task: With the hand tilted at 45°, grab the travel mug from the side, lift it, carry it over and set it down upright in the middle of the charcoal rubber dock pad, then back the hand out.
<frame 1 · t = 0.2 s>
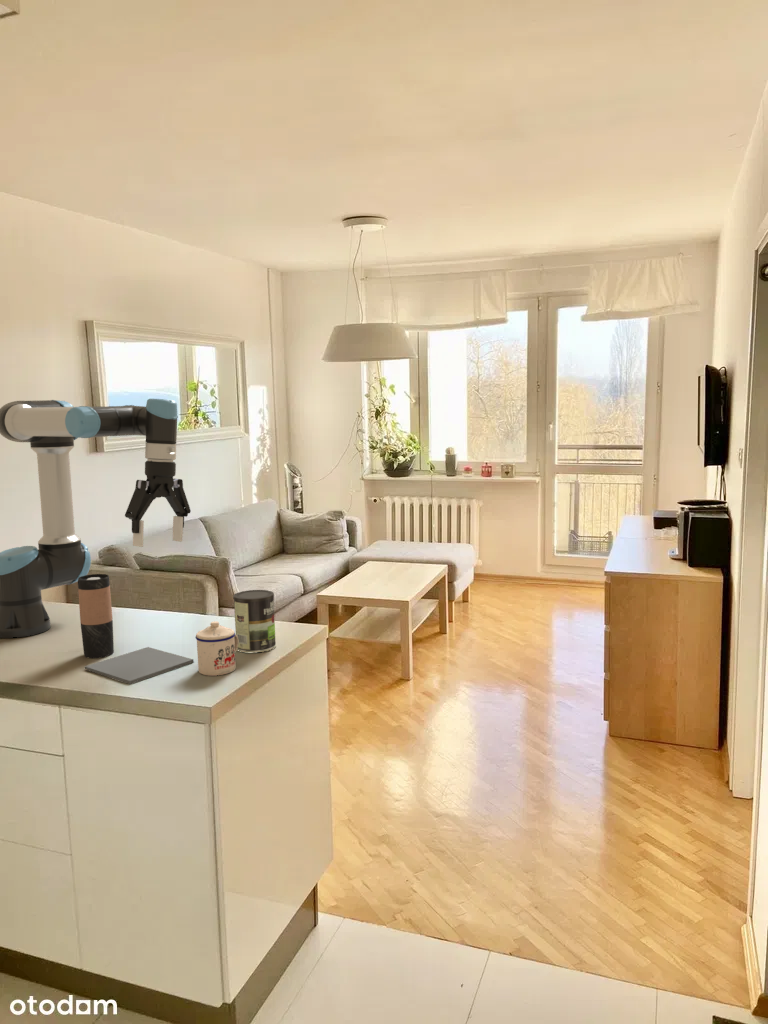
hand: (158, 543, 199), 27 cm above the table, tool pointing down, fingers open, 13 cm apart
coffee can: (256, 648, 200), on the table
dock pad: (139, 666, 188), on the table
travel mug: (99, 654, 198), on the table
teacup with lid: (221, 669, 185), on the table
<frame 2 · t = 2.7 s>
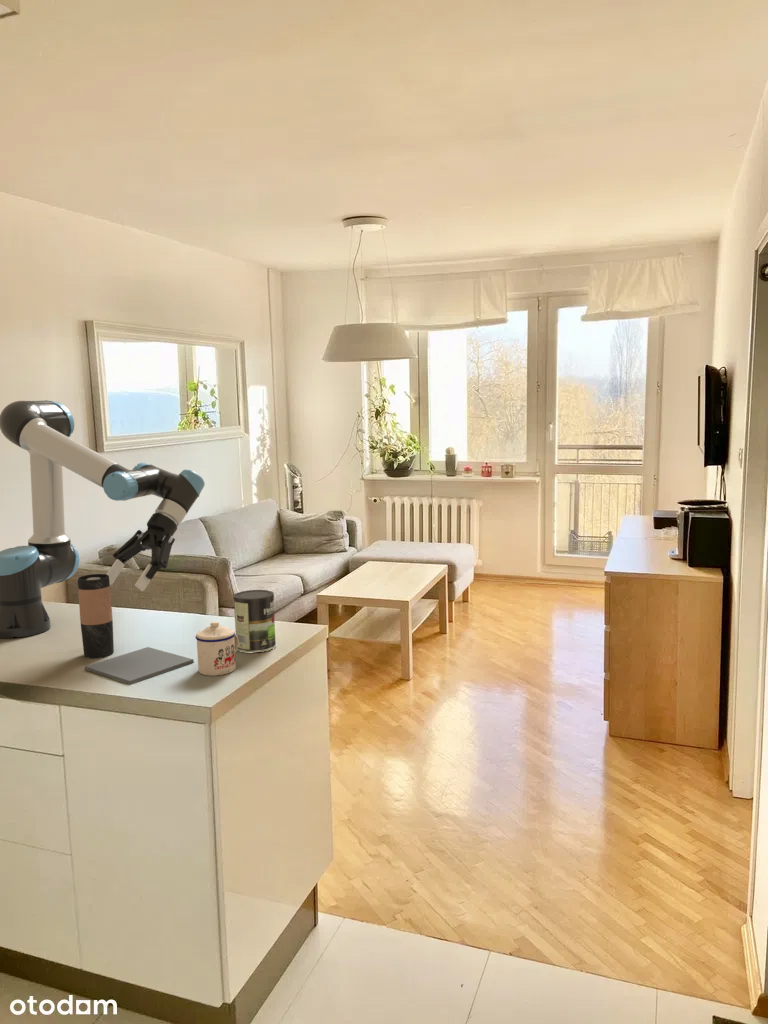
hand: (122, 585, 201), 16 cm above the table, tool tilted 45°, fingers open, 13 cm apart
nothing on the table moved.
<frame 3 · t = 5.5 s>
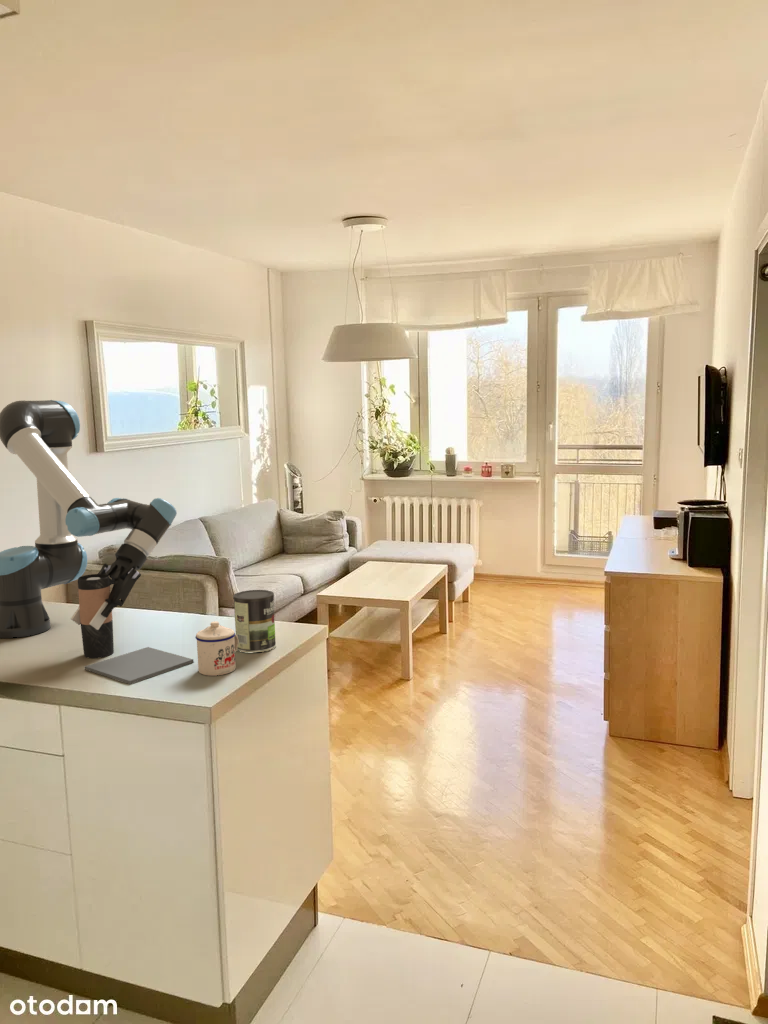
hand: (84, 624, 194), 9 cm above the table, tool tilted 45°, fingers closed on travel mug, 7 cm apart
travel mug: (99, 654, 198), on the table, touching gripper
everything else where it was.
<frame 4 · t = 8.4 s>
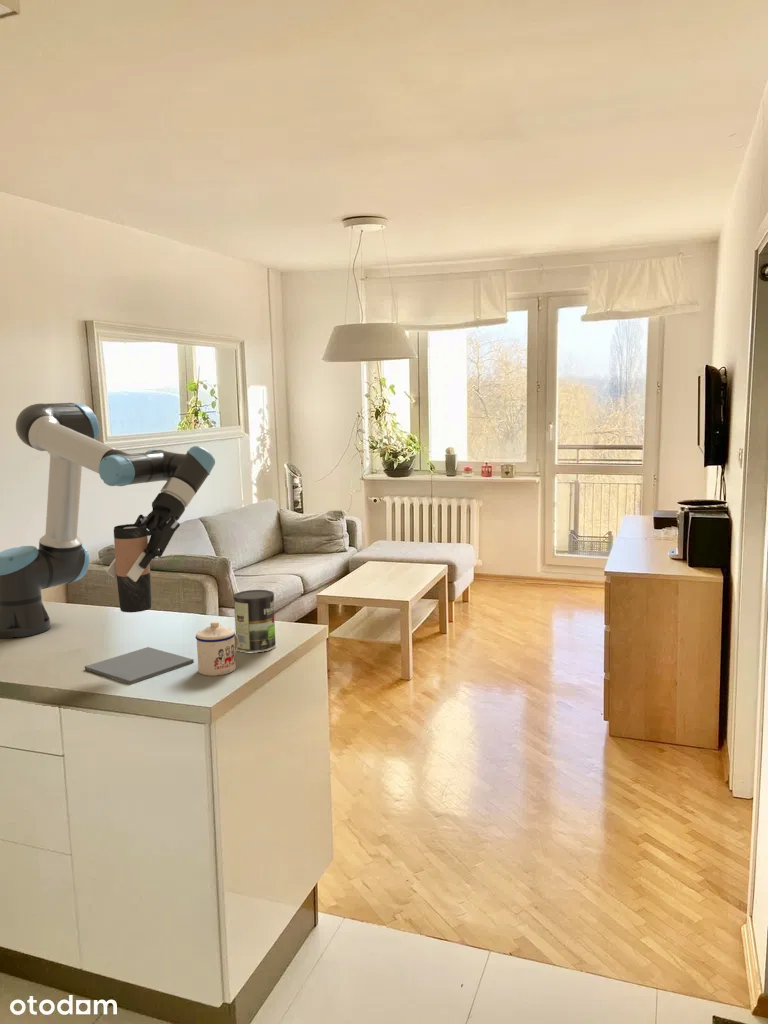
hand: (120, 576, 182), 23 cm above the table, tool tilted 45°, fingers closed on travel mug, 7 cm apart
travel mug: (136, 609, 186), point 14 cm above the table, touching gripper
everything else where it was.
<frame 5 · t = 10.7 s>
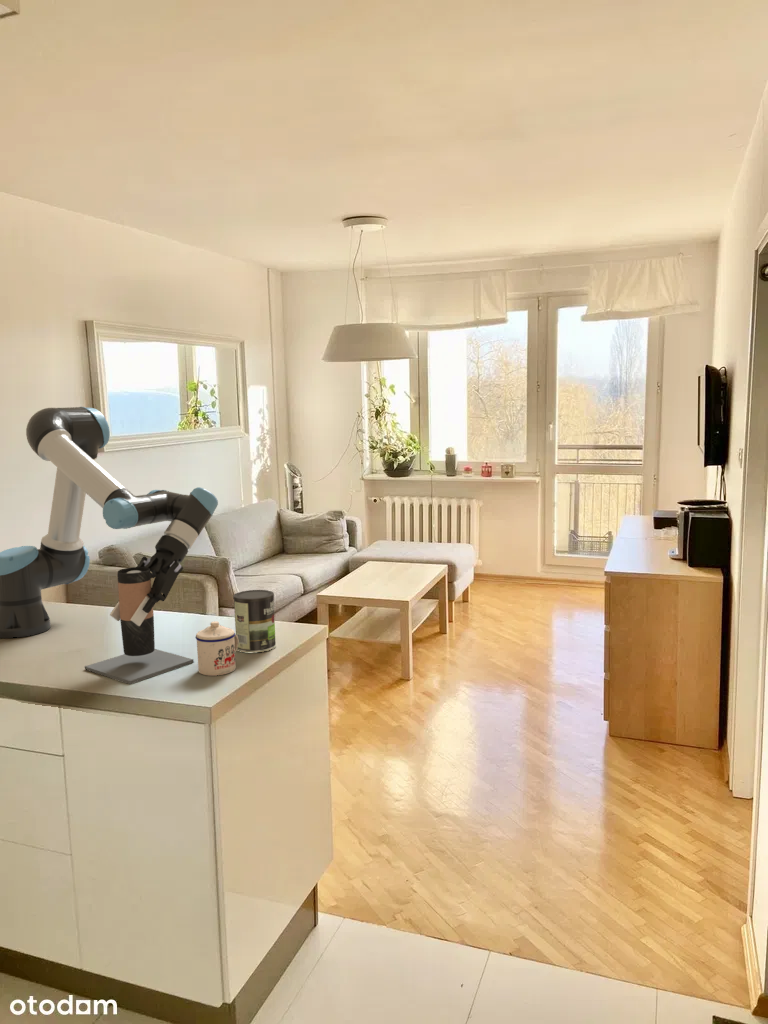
hand: (124, 620, 183), 12 cm above the table, tool tilted 45°, fingers closed on travel mug, 7 cm apart
travel mug: (139, 652, 187), point 3 cm above the table, touching gripper
everything else where it was.
when the fingers open (11 cm above the table, at t = 11.5 s): travel mug drops 2 cm, resting on dock pad.
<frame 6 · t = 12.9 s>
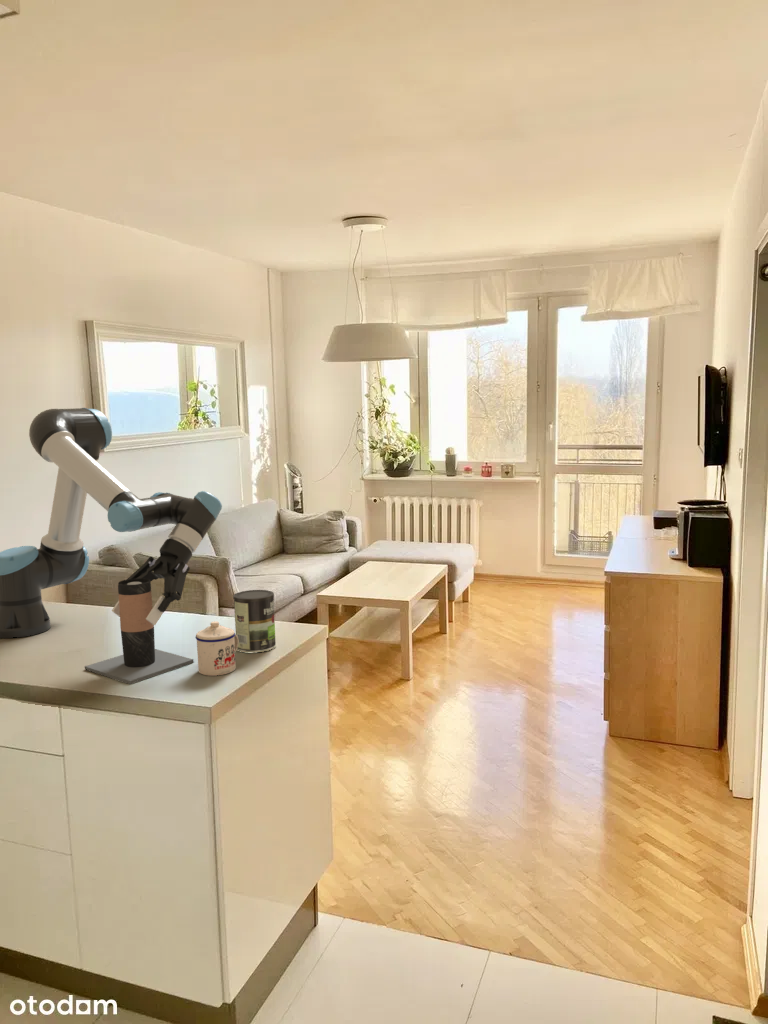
hand: (132, 618, 185), 12 cm above the table, tool tilted 45°, fingers open, 13 cm apart
travel mug: (139, 663, 188), point 1 cm above the table, touching dock pad
everything else where it was.
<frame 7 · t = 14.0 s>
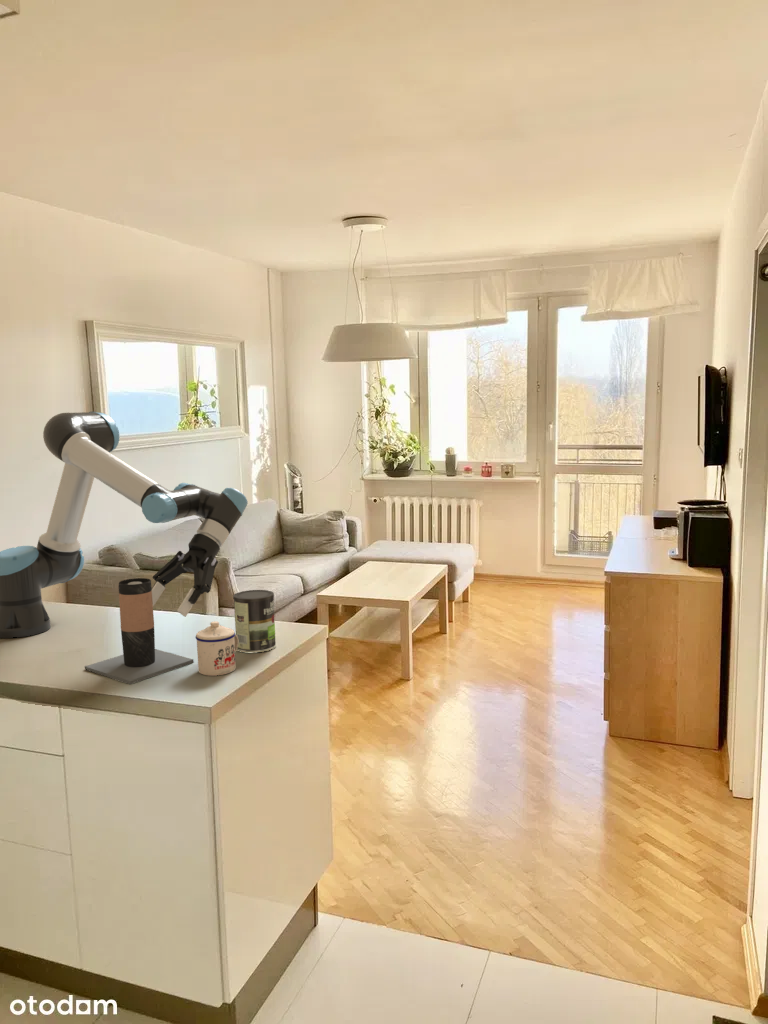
hand: (163, 609, 192), 12 cm above the table, tool tilted 45°, fingers open, 13 cm apart
nothing on the table moved.
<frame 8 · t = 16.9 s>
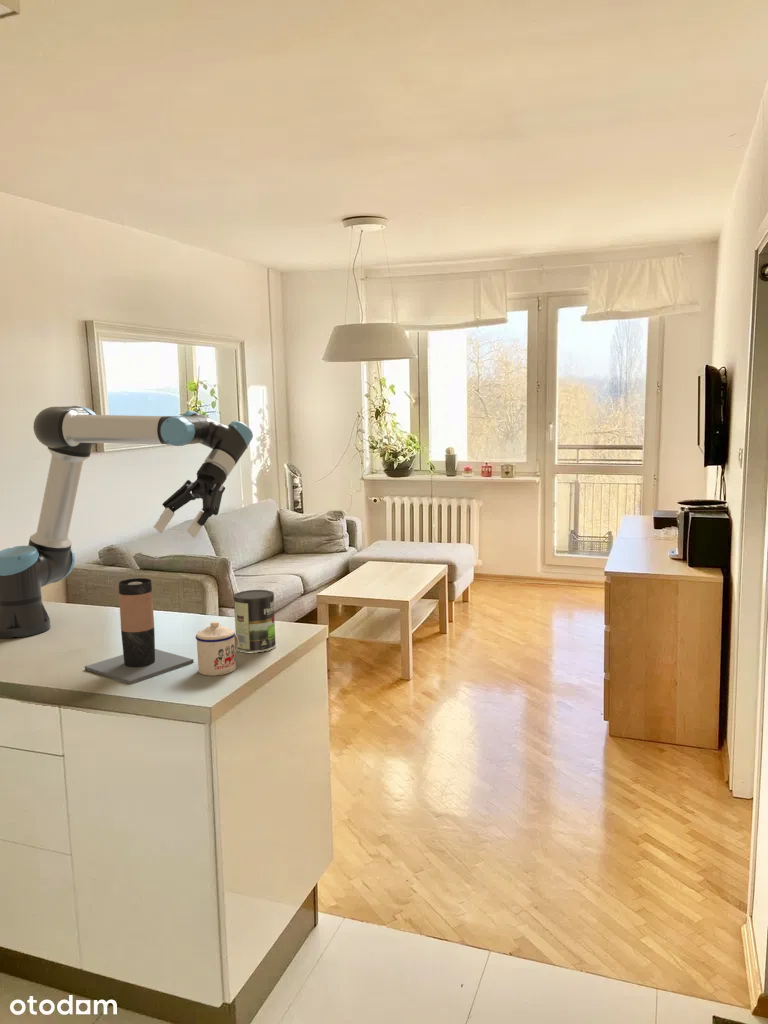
hand: (173, 532, 202), 30 cm above the table, tool tilted 45°, fingers open, 13 cm apart
nothing on the table moved.
at the end: travel mug inside the target area on the dock pad (0.1 cm from its centre), point 0.6 cm above the dock pad's base; travel mug tilted 0°; the gripper is holding nothing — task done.
